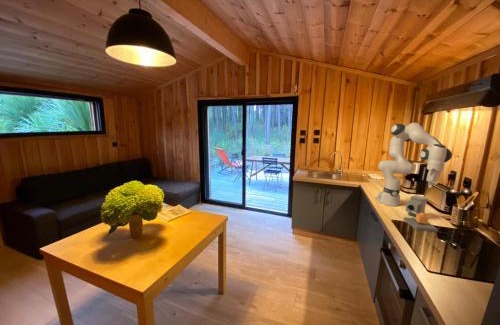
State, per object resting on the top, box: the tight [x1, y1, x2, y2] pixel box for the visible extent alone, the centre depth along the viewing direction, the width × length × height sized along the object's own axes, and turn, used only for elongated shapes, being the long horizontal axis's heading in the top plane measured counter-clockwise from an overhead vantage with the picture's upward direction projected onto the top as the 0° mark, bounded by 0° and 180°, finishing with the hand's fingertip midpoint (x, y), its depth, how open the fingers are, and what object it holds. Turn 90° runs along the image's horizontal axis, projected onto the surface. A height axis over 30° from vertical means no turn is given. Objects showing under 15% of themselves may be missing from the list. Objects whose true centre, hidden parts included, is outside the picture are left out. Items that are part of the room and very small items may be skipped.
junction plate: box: [402, 217, 439, 233], centre depth 153 cm, size 16×13×7 cm
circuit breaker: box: [405, 194, 428, 218], centre depth 169 cm, size 8×14×15 cm, turn 117°
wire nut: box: [415, 213, 429, 224], centre depth 153 cm, size 5×5×6 cm
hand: (431, 186), depth 156 cm, fingers open, 8 cm apart
